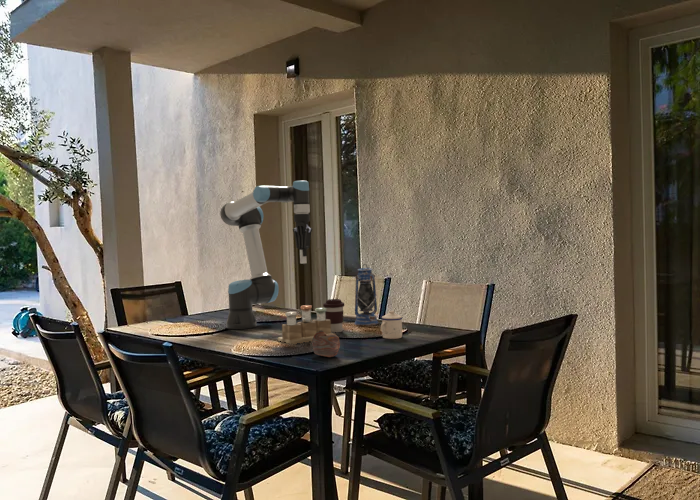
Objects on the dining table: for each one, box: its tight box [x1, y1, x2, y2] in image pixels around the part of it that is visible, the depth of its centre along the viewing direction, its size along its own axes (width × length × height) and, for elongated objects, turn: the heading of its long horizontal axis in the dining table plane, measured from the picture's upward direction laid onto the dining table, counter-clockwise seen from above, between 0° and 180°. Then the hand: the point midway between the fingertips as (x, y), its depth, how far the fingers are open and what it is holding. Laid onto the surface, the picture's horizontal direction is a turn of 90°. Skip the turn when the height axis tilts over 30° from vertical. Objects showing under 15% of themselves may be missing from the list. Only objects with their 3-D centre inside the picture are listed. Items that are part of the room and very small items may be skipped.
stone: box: [311, 330, 341, 358], centre depth 231 cm, size 13×8×10 cm
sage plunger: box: [314, 307, 326, 321], centre depth 272 cm, size 5×5×10 cm
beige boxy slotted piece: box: [277, 318, 337, 345], centre depth 267 cm, size 12×23×8 cm, turn 129°
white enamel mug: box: [380, 310, 403, 340], centre depth 265 cm, size 12×9×12 cm
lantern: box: [353, 263, 380, 326], centre depth 304 cm, size 15×12×30 cm
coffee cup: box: [322, 298, 345, 334], centre depth 284 cm, size 10×10×15 cm
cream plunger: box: [284, 311, 298, 326], centre depth 262 cm, size 5×5×10 cm
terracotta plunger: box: [300, 304, 313, 323], centre depth 267 cm, size 5×5×10 cm
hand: (303, 263), depth 286 cm, fingers closed
